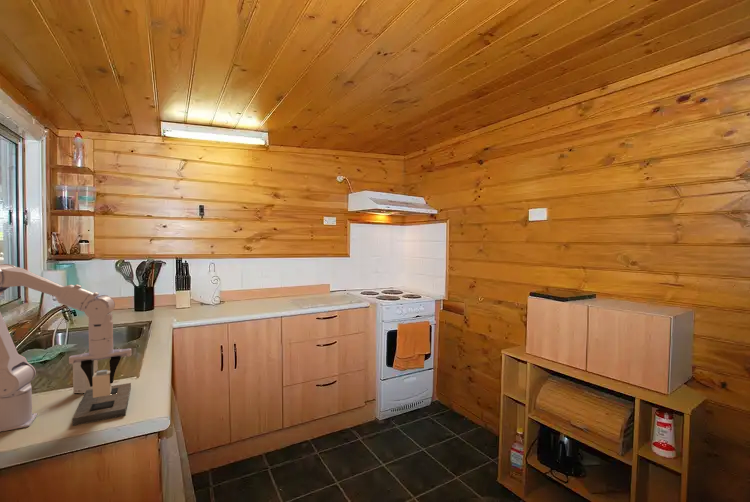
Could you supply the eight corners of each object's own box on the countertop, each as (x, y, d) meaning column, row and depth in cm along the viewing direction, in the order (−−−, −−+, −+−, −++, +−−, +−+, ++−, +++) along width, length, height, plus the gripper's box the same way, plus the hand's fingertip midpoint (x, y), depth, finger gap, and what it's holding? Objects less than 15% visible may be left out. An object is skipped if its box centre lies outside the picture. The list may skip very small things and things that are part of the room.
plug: (92, 397, 106) (92, 374, 106) (95, 392, 109) (94, 370, 109) (109, 394, 108) (109, 372, 108) (111, 389, 111) (111, 367, 111)
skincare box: (86, 393, 121) (85, 357, 121) (72, 394, 121) (71, 357, 121) (99, 386, 127) (98, 351, 127) (85, 386, 127) (85, 352, 127)
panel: (72, 425, 101) (72, 418, 101) (86, 396, 120) (86, 390, 120) (125, 415, 107) (125, 408, 107) (130, 388, 126) (130, 382, 126)
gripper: (131, 331, 115) (132, 374, 115) (72, 337, 108) (73, 383, 108) (130, 336, 109) (130, 382, 109) (66, 343, 101) (68, 392, 102)
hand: (102, 383), depth 108 cm, fingers closed on plug, 4 cm apart
